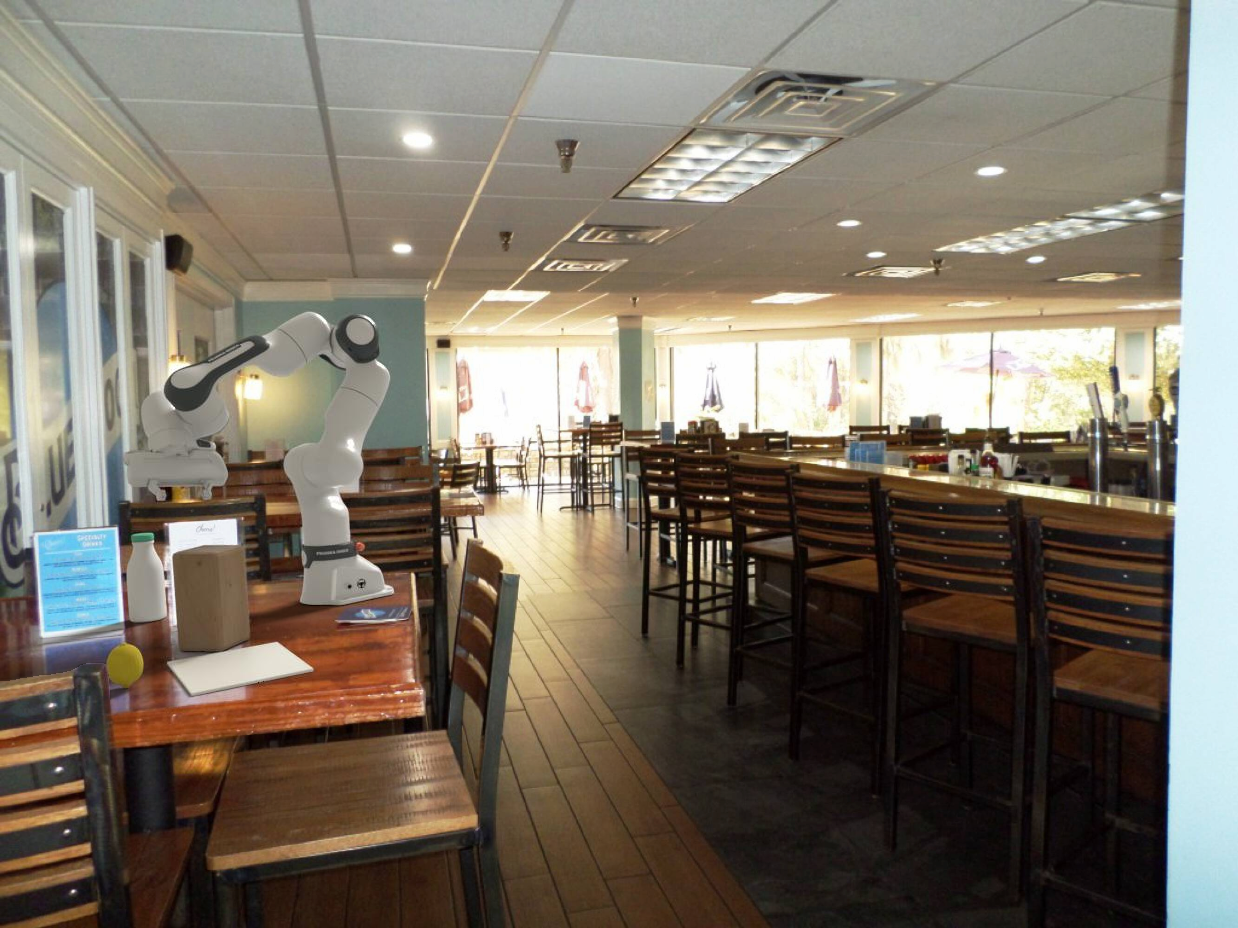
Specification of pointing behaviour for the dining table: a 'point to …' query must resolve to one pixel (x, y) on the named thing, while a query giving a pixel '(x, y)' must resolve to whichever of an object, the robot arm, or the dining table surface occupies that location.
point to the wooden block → (211, 597)
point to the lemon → (125, 665)
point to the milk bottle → (145, 581)
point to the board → (237, 668)
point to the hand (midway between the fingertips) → (185, 498)
